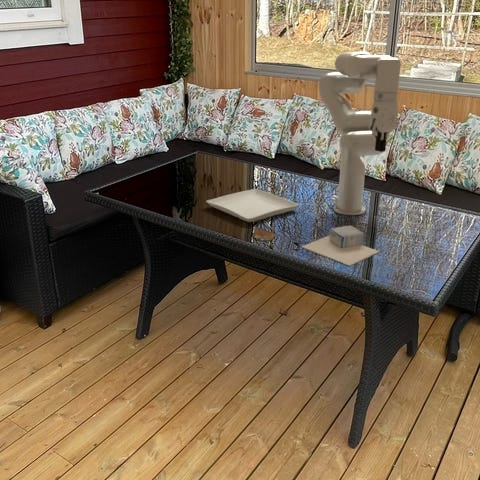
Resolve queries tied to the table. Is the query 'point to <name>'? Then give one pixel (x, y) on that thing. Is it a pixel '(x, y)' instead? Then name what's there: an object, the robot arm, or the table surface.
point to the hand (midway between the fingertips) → (380, 150)
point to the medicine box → (346, 236)
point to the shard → (263, 234)
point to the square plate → (252, 204)
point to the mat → (340, 251)
